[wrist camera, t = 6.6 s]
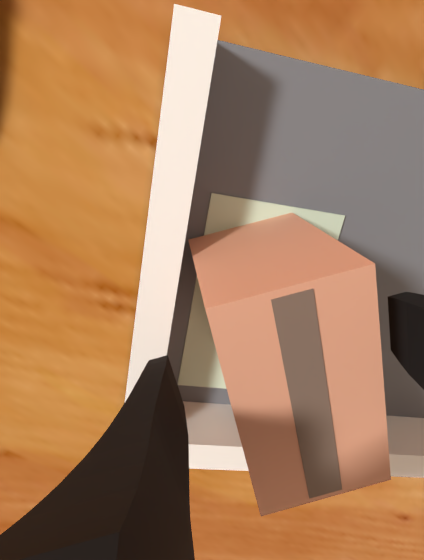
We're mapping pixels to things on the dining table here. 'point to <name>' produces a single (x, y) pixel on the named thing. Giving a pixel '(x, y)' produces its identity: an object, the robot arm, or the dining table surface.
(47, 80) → the dining table surface
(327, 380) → the block
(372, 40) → the dining table surface
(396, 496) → the dining table surface
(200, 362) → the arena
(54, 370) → the dining table surface
